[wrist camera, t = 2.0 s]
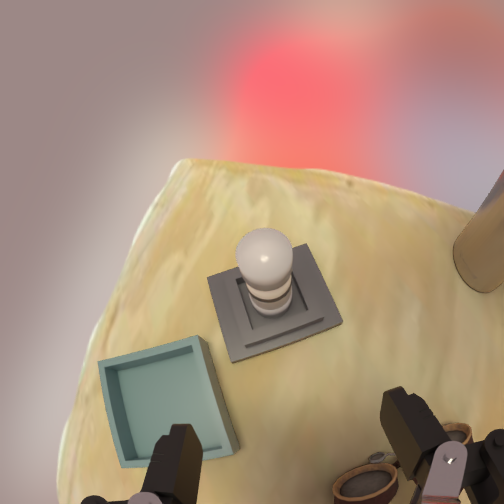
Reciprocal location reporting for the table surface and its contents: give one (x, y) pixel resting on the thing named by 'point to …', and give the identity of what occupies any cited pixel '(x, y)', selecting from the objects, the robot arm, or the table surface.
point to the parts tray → (165, 400)
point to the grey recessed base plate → (273, 329)
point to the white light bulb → (267, 270)
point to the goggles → (383, 475)
